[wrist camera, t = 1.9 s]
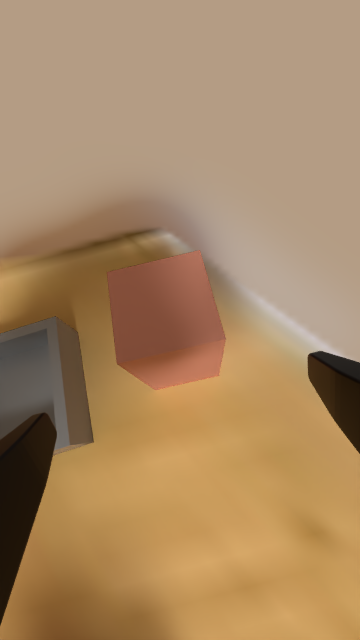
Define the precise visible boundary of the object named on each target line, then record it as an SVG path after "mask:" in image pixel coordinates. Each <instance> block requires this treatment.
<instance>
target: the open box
mask: <svg viewBox="0 0 360 640" xmlns="http://www.w3.org/2000/svg"><path fill="white" fill-rule="evenodd" d="M43 412H45V413H47V414H48V415H49V417H50V419H51V421H52V423H53V424H54V426H55V428H56V431H57V439H56V443H55V448H54V452H53V455H56V454H59V453H62V452H65V451H68V450H71V449H74V448H77V447H80V446H83V445H87V444H90V443H93V435H92V428H91V421H90V414H89V407H88V400H87V393H86V386H85V379H84V372H83V365H82V359H81V352H80V345H79V338H78V332H77V331H75V330H74V329H73V328H71V327H70V326H68V325H67V324H66V323H64V322H63V321H62V320H60V319H59V318H57V317H56V316H55V317H52V318H49V319H45V320H42V321H39V322H36V323H33V324H29V325H26V326H23V327H20V328H17V329H13V330H10V331H7V332H4V333H1V334H0V439H2V438H3V437H4V436H6V435H7V434H8V433H10V432H11V431H12V430H14V429H15V428H16V427H17V426H19V425H20V424H21V423H23V422H24V421H25V420H27V419H28V418H29V417H31V416H32V415H34V414H38V413H43Z"/></svg>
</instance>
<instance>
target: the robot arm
mask: <svg viewBox="0 0 360 640" xmlns="http://www.w3.org/2000/svg"><path fill="white" fill-rule="evenodd" d="M308 376H309V379H310V382H311V383H312V385H313V387H314V388H315V390H316V391H317V393H318V395H319V396H320V398H321V400H322V401H323V403H324V405H325V406H326V408H327V410H328V411H329V413H330V414H331V416H332V417H333V419H334V421H335V422H336V423H337V425H338V426H339V427H340V429H341V430H342V431H343V433H344V434H345V435H346V437H347V438H348V439H349V441H350V442H351V443H352V444H353V446H354V447H355V448H356V450H357V451H358V452H359V454H360V363H359V362H356V361H353V360H350V359H346V358H343V357H340V356H336V355H333V354H330V353H326V352H323V351H318V352H314V353H310V354H309V355H308ZM56 439H57V431H56V428H55V426H54V424H53V423H52V421H51V419H50V417H49V415H48V414H47V413H45V412H43V413H38V414H34V415H32V416H31V417H29V418H28V419H27V420H25V421H24V422H23V423H21V424H20V425H19V426H17V427H16V428H15V429H14V430H12V431H11V432H10V433H8V434H7V435H6V436H4V437H3V438H2V439H0V625H1V622H2V619H3V616H4V613H5V610H6V607H7V604H8V600H9V597H10V594H11V591H12V588H13V585H14V582H15V579H16V576H17V573H18V570H19V567H20V564H21V560H22V557H23V554H24V551H25V548H26V545H27V542H28V539H29V536H30V533H31V530H32V527H33V523H34V520H35V517H36V514H37V511H38V508H39V505H40V502H41V499H42V496H43V493H44V489H45V486H46V483H47V479H48V475H49V470H50V466H51V461H52V457H53V452H54V448H55V443H56Z"/></svg>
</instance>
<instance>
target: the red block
mask: <svg viewBox="0 0 360 640" xmlns="http://www.w3.org/2000/svg"><path fill="white" fill-rule="evenodd" d="M107 277H108V286H109V296H110V305H111V314H112V323H113V332H114V342H115V351H116V360H117V364H118V365H119V366H121V367H122V368H124V369H125V370H127V371H128V372H129V373H131V374H132V375H134V376H135V377H137V378H138V379H140V380H141V381H143V382H144V383H146V384H147V385H149V386H150V387H152V388H153V389H154V390H158V389H163V388H167V387H171V386H176V385H180V384H185V383H189V382H193V381H198V380H202V379H207V378H211V377H215V376H219V373H220V367H221V362H222V356H223V351H224V346H225V340H226V338H225V335H224V331H223V328H222V324H221V321H220V318H219V314H218V311H217V307H216V304H215V300H214V297H213V294H212V290H211V287H210V283H209V280H208V276H207V273H206V270H205V266H204V263H203V259H202V256H201V252H200V250H199V251H194V252H190V253H186V254H182V255H177V256H173V257H169V258H165V259H160V260H156V261H152V262H148V263H144V264H139V265H135V266H131V267H127V268H122V269H118V270H114V271H110V272H107Z"/></svg>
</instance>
